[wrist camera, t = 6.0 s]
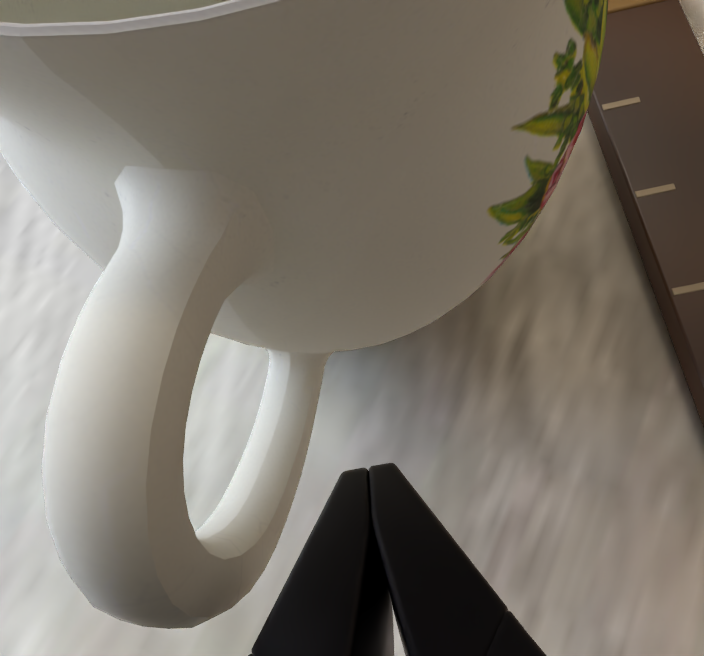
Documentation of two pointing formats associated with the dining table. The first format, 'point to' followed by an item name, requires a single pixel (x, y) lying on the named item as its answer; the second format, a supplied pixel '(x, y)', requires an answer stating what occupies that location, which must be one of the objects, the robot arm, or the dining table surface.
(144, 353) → the pitcher
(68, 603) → the dining table surface
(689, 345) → the ruler
